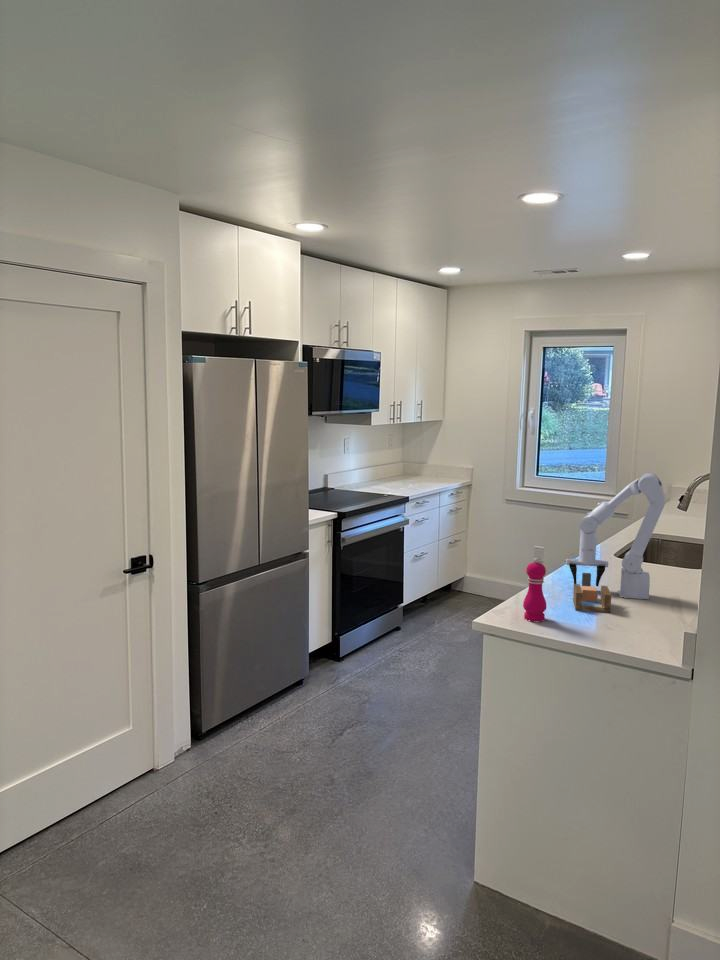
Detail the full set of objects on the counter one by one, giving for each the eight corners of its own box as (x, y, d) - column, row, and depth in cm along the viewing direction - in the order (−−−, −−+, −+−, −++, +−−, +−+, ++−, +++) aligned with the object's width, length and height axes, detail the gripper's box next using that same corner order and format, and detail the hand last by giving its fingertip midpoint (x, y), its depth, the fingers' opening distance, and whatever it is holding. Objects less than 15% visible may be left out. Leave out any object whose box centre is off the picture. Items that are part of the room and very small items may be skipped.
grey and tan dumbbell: (592, 589, 250) (593, 573, 249) (597, 602, 235) (598, 585, 234) (578, 588, 251) (579, 572, 250) (582, 601, 236) (582, 584, 235)
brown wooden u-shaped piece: (606, 602, 234) (607, 585, 233) (610, 612, 223) (611, 595, 223) (573, 600, 237) (573, 583, 236) (575, 610, 226) (576, 592, 225)
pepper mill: (533, 624, 213) (535, 561, 210) (517, 617, 219) (519, 556, 216) (550, 620, 216) (553, 559, 213) (535, 613, 222) (537, 554, 220)
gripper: (607, 547, 250) (605, 583, 251) (566, 545, 253) (564, 580, 255) (609, 551, 243) (607, 588, 245) (567, 549, 246) (565, 585, 248)
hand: (586, 584), depth 249 cm, fingers open, 7 cm apart
